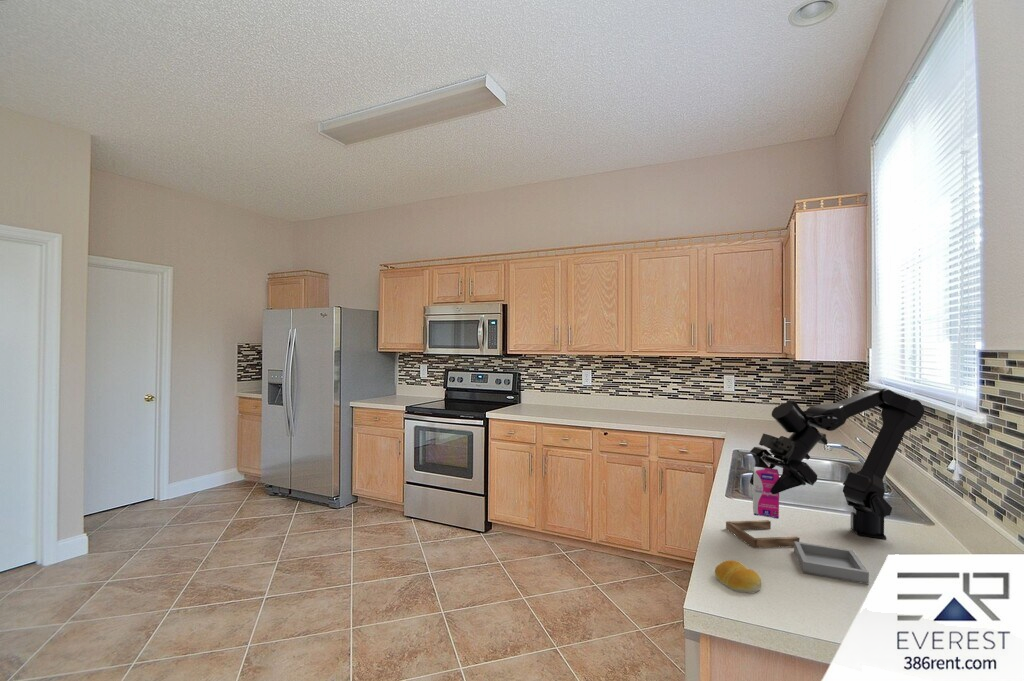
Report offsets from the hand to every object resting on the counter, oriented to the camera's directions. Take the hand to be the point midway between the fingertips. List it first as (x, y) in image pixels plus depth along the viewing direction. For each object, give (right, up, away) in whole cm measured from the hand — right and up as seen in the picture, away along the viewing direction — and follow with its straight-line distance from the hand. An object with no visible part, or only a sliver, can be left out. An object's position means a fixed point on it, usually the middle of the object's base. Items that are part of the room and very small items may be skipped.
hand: (761, 488), depth 123 cm
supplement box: (+1, -7, 0) cm, 7 cm away
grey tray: (+8, -13, -15) cm, 21 cm away
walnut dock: (+1, -13, +1) cm, 13 cm away
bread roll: (-17, -13, -23) cm, 31 cm away
